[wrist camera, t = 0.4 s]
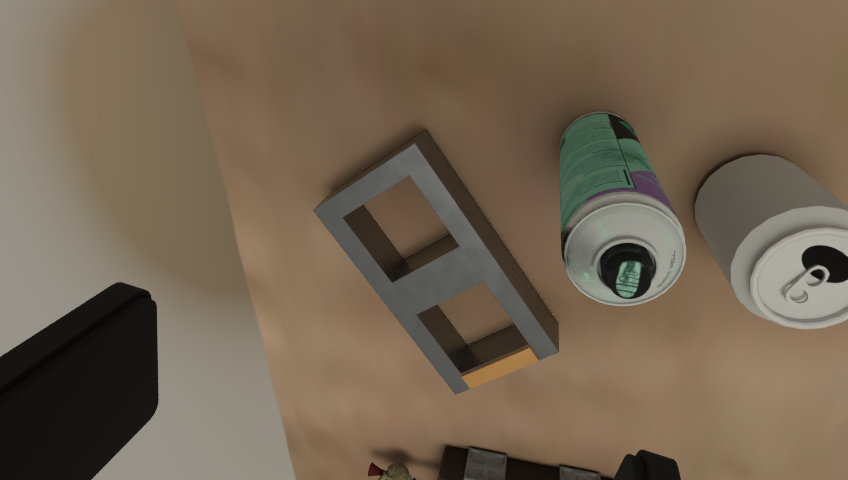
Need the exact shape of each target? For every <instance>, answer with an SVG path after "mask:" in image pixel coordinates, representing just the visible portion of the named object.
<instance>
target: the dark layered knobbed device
mask: <svg viewBox="0 0 848 480" xmlns="http://www.w3.org/2000/svg"><path fill="white" fill-rule="evenodd" d="M376 475H379V476H383V477H380V478H379V479H378V480H416V479H415V478H412V477H411V476H410V475H409V471H408V469H407V467H406V466H405V465H403V464H401V463H394V464H392V465H390V466H389V467H388V470H387V471H385V470H382V469H380V468H379V467H377V466H376V465H375V464H374V463H371V465H370V467H369V471H368V476H376ZM437 480H610V479H605V478H600V474H598V473H593V472H588V471H583V470H578V469H573V468H568V467H563V466H560V468H559V469H555V468H551V467H546V466H541V465H536V464H531V463H526V462H521V461H516V460H511V459H507V455H503V454H498V453H493V452H488V451H483V450H479V449H474V448H469V451H467V450H462V449H457V448H452V447H447V446H446V447H445V451H444V453H443V456H442V460H441V469H440V473H439V479H437Z"/></svg>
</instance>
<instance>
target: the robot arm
mask: <svg viewBox="0 0 848 480" xmlns="http://www.w3.org/2000/svg"><path fill="white" fill-rule="evenodd" d="M157 354H158V352H157V306H156V303H155V301H153V300H152V299H151V295H150V293H149V292H148V291H146V290H144V289H141V288H137V287H135V286H131V285H128V284H125V283H122V282H121V283H115V284H113V285H111V286H110V287H108V288H107V289H105V290H104V291H102V292H100V293H99V294H97V295H96V296H94V297H93V298H91V299H90V300H88V301H86V302H85V303H83V304H82V305H80V306H79V307H77V308H76V309H74V310H72V311H71V312H69V313H68V314H66V315H65V316H63V317H62V318H60V319H58V320H57V321H55V322H54V323H52V324H51V325H49V326H48V327H46V328H44V329H43V330H41V331H40V332H38V333H37V334H35V335H34V336H32V337H30V338H29V339H27V340H26V341H24V342H23V343H21V344H20V345H18V346H16V347H15V348H13V349H12V350H10V351H9V352H8V353H5V354H4V355H2V356H1V357H0V480H91V479H92V478H93V477H94V476H95V475H96V474H97V473H98V472H99V471H100V470H101V469H102V468H103V467H104V466H105V465H106V464H107V463H108V462H109V461H110V460H111V459H112V458H113V457H114V456H115V455H116V454H117V453H118V452H119V451H120V450H121V448H123V447H124V446H125V445H126V444H127V443H128V442H129V441H130V440H131V438H132V437H133V436H134V435H135V434H136V433H137V432H138V431H139V430H140V429H141V428H142V427H143V426H144V425H145V424H146V423H147V422H148V421H149V420H150V419H151V418H152V416H153V415H154V413H155V411H156V409H157V406H158V356H157ZM613 480H681V478H680V474H679V470H678V466H677V463H676V461H675V460H674V459H670V458H667V457H664V456H661V455H658V454H655V453H652V452H649V451H646V450H640V451H639V452H638V453H637V454H636V456H634V455H631V454H627V455H626V456H625V458H624V459H623V461H622V463H621V465H620V467H619V469H618V471H617V473H616V475H615V477H614V479H613Z"/></svg>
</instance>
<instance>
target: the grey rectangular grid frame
mask: <svg viewBox="0 0 848 480" xmlns="http://www.w3.org/2000/svg"><path fill="white" fill-rule="evenodd" d="M409 175H410V176H411V178H412V179H413V181H414V182H415V183H416V185H417V186H418V188H419V189H420V191H421V192H422V193H423V195H424V196H425V198H426V199H427V200H428V202H429V203H430V205H431V206H432V208H433V209H434V210H435V212H436V213H437V215H438V216H439V217H440V219H441V220H442V222H443V223H444V225H445V226H446V227H447V229H448V230H449V232H450V233H451V234H450V235H448V236H446V237H445V238H443V239H441V240H439V241H437V242H436V243H434V244H432V245H430V246H428V247H427V248H425V249H423V250H421V251H419V252H418V253H416V254H414V255H412V256H410V257H409V258H407V259H405V260H403V258H402V257H401V256H400V254H399V253H398V251H397V250H396V249H395V247H394V246H393V245H392V243H391V242H390V241H389V239H388V238H387V237H386V235H385V234H384V233H383V231H382V230H381V229H380V227H379V226H378V225H377V223H376V222H375V220H374V219H373V218H372V216H371V215H370V214H369V212H368V211H367V210H366V208H365V207H364V206H363V204H365V203H366V202H368V201H369V200H371V199H372V198H374V197H376V196H377V195H379V194H380V193H382V192H384V191H385V190H387V189H388V188H390V187H392V186H393V185H395V184H396V183H398V182H399V181H401V180H403V179H404V178H406V177H407V176H409ZM313 211H314V212H315V213H316V215H317V216H318V217H319V219H320V220H321V221H322V223H323V224H324V225H325V226H326V228H327V229H328V230H329V232H330V233H331V234H332V235H333V237H334V238H335V239H336V241H337V242H338V243H339V245H340V246H341V247H342V248H343V250H344V251H345V252H346V254H347V255H348V256H349V257H350V259H351V260H352V261H353V263H354V264H355V265H356V267H357V268H358V269H359V270H360V272H361V273H362V274H363V276H364V277H365V278H366V279H367V281H368V282H369V283H370V285H371V286H372V287H373V289H374V290H375V291H376V292H377V294H378V295H379V296H380V298H381V299H382V300H383V302H384V303H385V304H386V305H387V307H388V308H389V309H390V311H391V312H392V313H393V314H394V316H395V317H396V318H397V320H398V321H399V322H400V324H401V325H402V326H403V327H404V329H405V330H406V331H407V333H408V334H409V335H410V336H411V338H412V339H413V340H414V342H415V343H416V344H417V346H418V347H419V348H420V349H421V351H422V352H423V353H424V355H425V356H426V357H427V358H428V360H429V361H430V362H431V364H432V365H433V366H434V368H435V369H436V370H437V371H438V373H439V374H440V375H441V377H442V378H443V379H444V381H445V382H446V383H447V384H448V386H449V387H450V388H451V390H452V391H453V392H454V393H455V395H456V394H458V393H461V392H463V391H466V390H468V389H472V388H474V387H477V386H479V385H481V384H484V383H486V382H489V381H491V380H494V379H496V378H498V377H501V376H503V375H506V374H508V373H511V372H513V371H515V370H518V369H520V368H523V367H525V366H528V365H530V364H532V363H535V362H537V361H539V360H541V359H543V358H546V357H548V356H551V355H553V354H556V353H558V352H559V328H558V323H557V321H556V320H555V318H554V317H553V315H552V314H551V312H550V311H549V309H548V308H547V306H546V305H545V303H544V302H543V301H542V299H541V298H540V296H539V295H538V293H537V292H536V290H535V289H534V287H533V286H532V284H531V283H530V281H529V280H528V278H527V277H526V275H525V274H524V273H523V271H522V270H521V268H520V267H519V265H518V264H517V262H516V261H515V259H514V258H513V256H512V255H511V253H510V252H509V250H508V249H507V248H506V246H505V245H504V243H503V242H502V240H501V239H500V237H499V236H498V234H497V233H496V231H495V230H494V228H493V227H492V225H491V224H490V222H489V221H488V220H487V218H486V217H485V215H484V214H483V212H482V211H481V209H480V208H479V206H478V205H477V203H476V202H475V200H474V199H473V197H472V196H471V194H470V193H469V192H468V190H467V189H466V187H465V186H464V184H463V183H462V181H461V180H460V178H459V177H458V175H457V174H456V172H455V171H454V169H453V168H452V167H451V165H450V164H449V162H448V161H447V159H446V158H445V156H444V155H443V153H442V152H441V150H440V149H439V147H438V146H437V144H436V143H435V141H434V140H433V139H432V137H431V136H430V134H429V133H428V131H427V130H424V131H423V132H421V133H420V134H418V135H417V136H415V137H414V138H412V139H411V140H409V141H408V142H406V143H405V144H403V145H402V146H400V147H399V148H397V149H396V150H394V151H393V152H391V153H390V154H388V155H387V156H385V157H384V158H382V159H381V160H379V161H378V162H376V163H374V164H373V165H371V166H370V167H368V168H367V169H365V170H364V171H362V172H361V173H359V174H358V175H356V176H355V177H353V178H352V179H350V180H349V181H347V182H346V183H344V184H343V185H341V186H340V187H338V188H337V189H335V190H334V191H332V192H331V193H330V194H329V195H328V196H327V197H326V198H325V199H324V200H323V201H322V202H321V203H320V204H319V205H318V206H317V207H316V208H315V209H314V210H313ZM483 281H485V283H486V284H487V286H488V287H489V288H490V290H491V291H492V293H493V294H494V296H495V297H496V298H497V300H498V301H499V303H500V304H501V305H502V307H503V308H504V310H505V311H506V313H507V314H508V315H509V317H510V318H511V320H512V321H513V322H514V325H512V326H510V327H507V328H505V329H503V330H501V331H498V332H496V333H494V334H492V335H490V336H487V337H485V338H483V339H481V340H478V341H476V342H474V343H472V344H470V345H467V344H466V343H465V342H464V340H463V339H462V338H461V336H460V335H459V334H458V332H457V331H456V330H455V328H454V327H453V326H452V324H451V323H450V322H449V320H448V319H447V317H446V316H445V315H444V313H443V312H442V311H441V309H440V308H439V307H438V305H437V304H439V303H441V302H443V301H445V300H447V299H449V298H451V297H453V296H455V295H457V294H459V293H461V292H463V291H465V290H467V289H469V288H471V287H473V286H475V285H477V284H479V283H481V282H483Z"/></svg>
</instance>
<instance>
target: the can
mask: <svg viewBox="0 0 848 480" xmlns="http://www.w3.org/2000/svg"><path fill="white" fill-rule="evenodd" d="M695 221H696V223H697V225H698V227H699V229H700V231H701V234H702V235H703V237H704V239H705V241H706V243H707V244H708V246H709V248H710V250H711V252H712V253H713V255H714V257H715V259H716V261H717V262H718V264H719V266H720V268H721V270H722V271H723V273H724V275H725V277H726V279H727V280H728V282H729V284H730V286H731V288H732V289H733V291H734V293H735V295H736V296H737V298H738V300H739V301H740V302H741V303H742V304H743V305H744V306H745V307H746V308H747V309H749V310H750V311H751V312H752V313H754V314H756V315H758V316H760V317H762V318H765V319H767V320H769V321H773V322H776V323H778V324H780V325H782V326H786V327H791V328H797V329H815V328H824V327H828V326H831V325H834V324H838V323H841V322H843V321H845V320H847V319H848V206H847V205H845V204H844V203H843V202H842V201H840V200H839V199H838V198H837V197H835V196H834V195H833V194H832V193H831V192H829V191H828V190H827V189H826V188H824V187H823V186H822V185H821V184H819V183H818V182H817V181H816V180H814V179H813V178H812V177H811V176H809V175H808V174H807V173H806V172H805V171H803V170H802V169H801V168H800V167H798V166H797V165H796V164H794V163H792V162H790V161H788V160H786V159H783V158H781V157H778V156H770V155H762V154H760V155H753V156H747V157H741V158H739V159H737V160H734V161H732V162H730V163H727V164H725V165H723V166H722V167H721V168H719V169H718V170H717V171H716V172H714V173H713V174H712V175H711V176H709V178H708V179H707V180H706V182H705V183H704V185H703V186H702V187H701V189H700V190H699V193H698V196H697V199H696V203H695Z"/></svg>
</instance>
